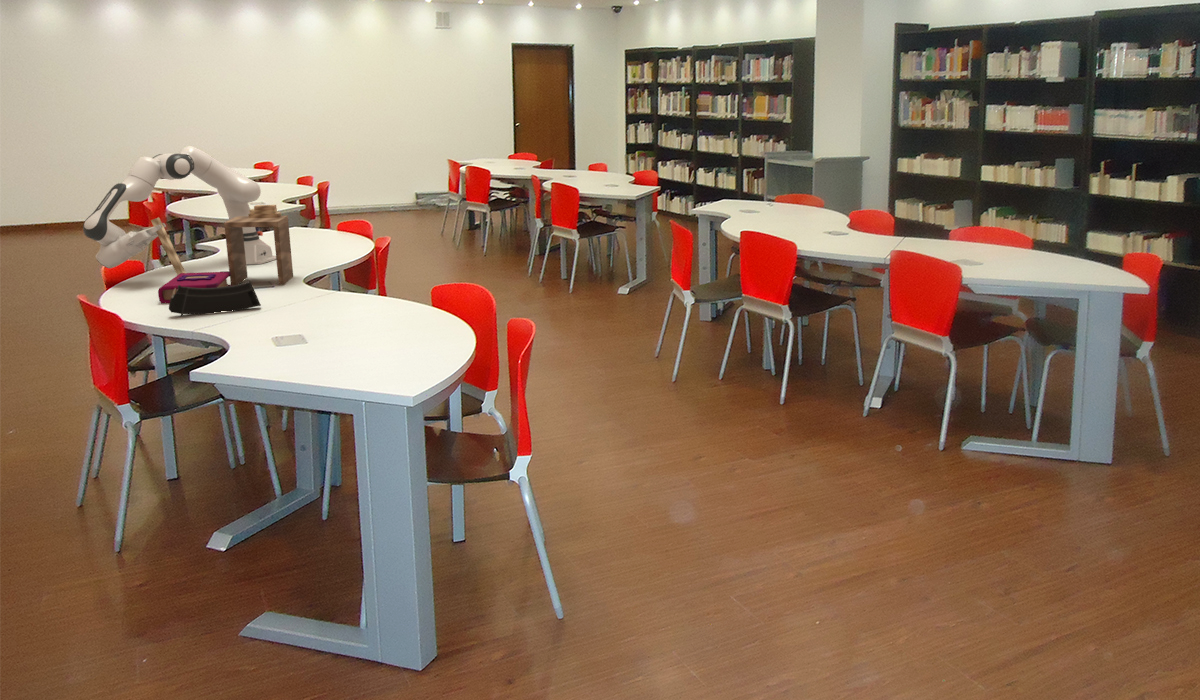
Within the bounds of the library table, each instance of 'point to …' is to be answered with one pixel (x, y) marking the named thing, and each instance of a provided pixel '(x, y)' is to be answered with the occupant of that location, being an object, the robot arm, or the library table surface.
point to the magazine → (213, 299)
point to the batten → (168, 247)
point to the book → (193, 282)
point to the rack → (236, 249)
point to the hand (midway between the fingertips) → (162, 225)
